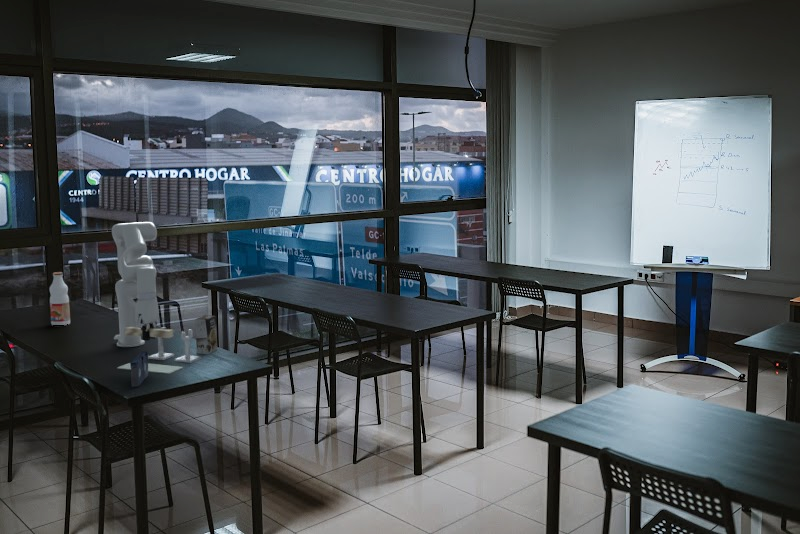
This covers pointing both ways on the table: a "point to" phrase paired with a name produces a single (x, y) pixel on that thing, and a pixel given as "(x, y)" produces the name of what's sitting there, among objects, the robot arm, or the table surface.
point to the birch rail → (153, 332)
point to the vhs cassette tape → (139, 369)
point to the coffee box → (206, 334)
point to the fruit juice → (59, 301)
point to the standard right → (187, 349)
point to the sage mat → (155, 368)
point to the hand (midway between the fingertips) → (149, 338)
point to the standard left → (160, 351)
